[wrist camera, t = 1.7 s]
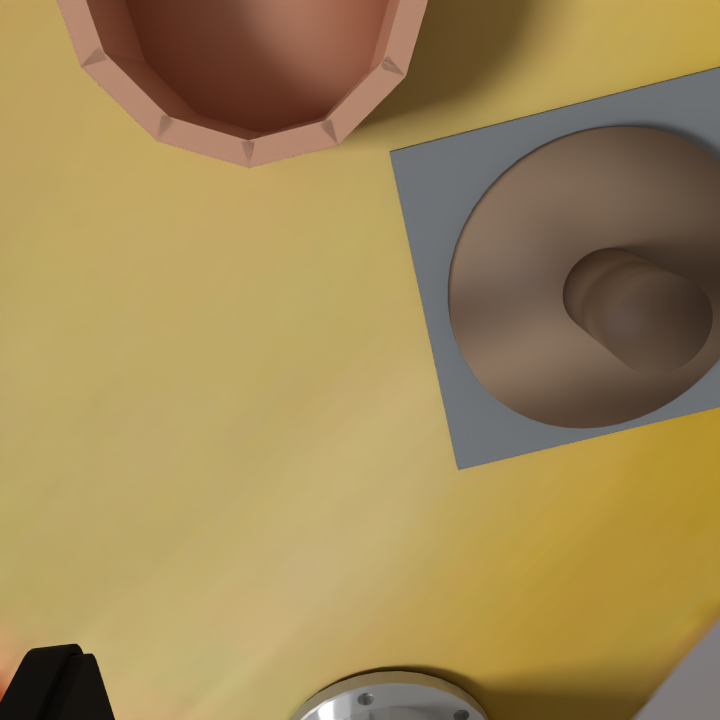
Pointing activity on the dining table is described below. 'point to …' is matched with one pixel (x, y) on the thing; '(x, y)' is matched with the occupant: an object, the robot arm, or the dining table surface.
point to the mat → (453, 206)
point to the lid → (592, 277)
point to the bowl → (246, 68)
